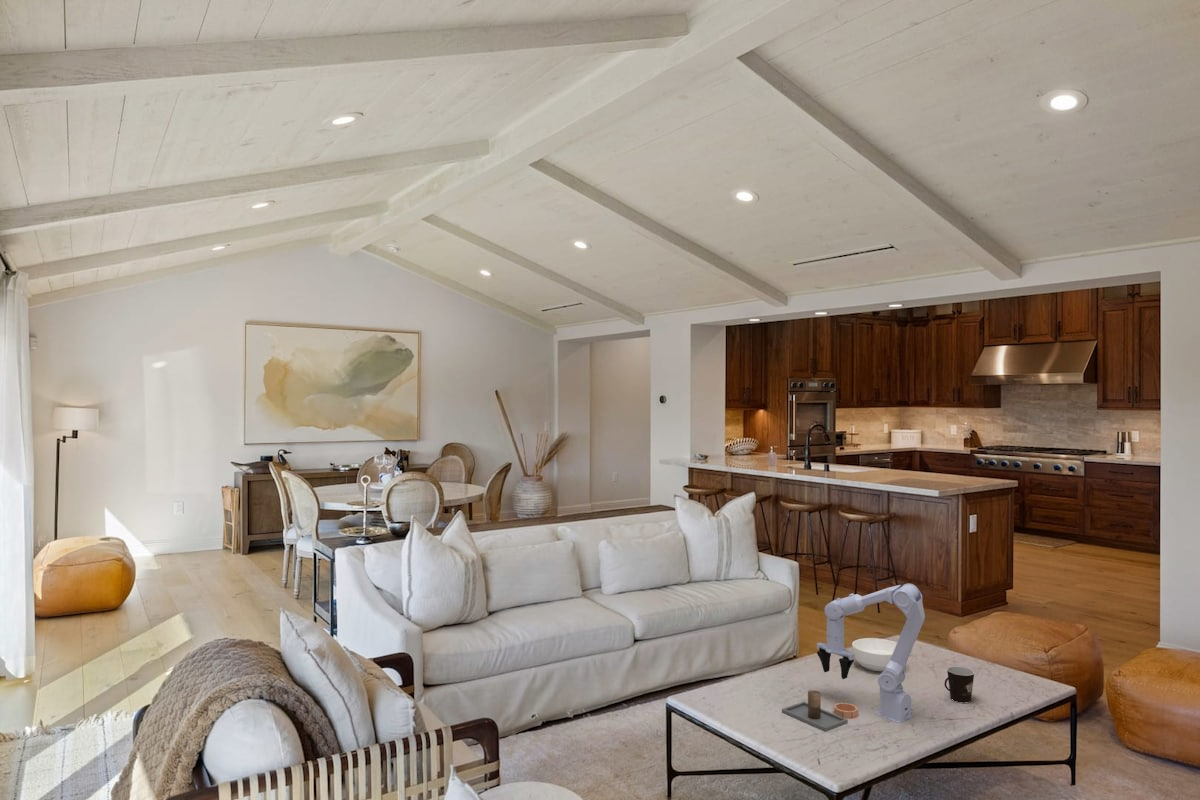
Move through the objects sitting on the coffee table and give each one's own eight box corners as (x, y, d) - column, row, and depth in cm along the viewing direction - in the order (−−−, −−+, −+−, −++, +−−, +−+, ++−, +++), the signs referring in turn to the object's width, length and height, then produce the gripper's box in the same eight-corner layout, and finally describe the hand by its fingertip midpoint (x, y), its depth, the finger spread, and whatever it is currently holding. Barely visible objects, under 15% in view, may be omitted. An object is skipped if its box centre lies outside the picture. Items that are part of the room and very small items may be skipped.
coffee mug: (966, 694, 276) (966, 666, 276) (979, 704, 267) (979, 675, 267) (934, 695, 275) (934, 666, 275) (945, 704, 267) (945, 675, 267)
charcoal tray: (847, 724, 252) (847, 719, 252) (825, 732, 245) (825, 728, 245) (803, 705, 266) (803, 701, 266) (781, 713, 260) (781, 709, 260)
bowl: (900, 680, 289) (900, 657, 289) (846, 670, 300) (846, 648, 299) (909, 664, 306) (909, 643, 306) (858, 655, 316) (858, 635, 316)
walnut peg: (823, 717, 255) (823, 693, 255) (814, 720, 253) (814, 696, 253) (813, 713, 259) (813, 689, 259) (805, 716, 257) (805, 692, 256)
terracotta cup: (864, 716, 258) (864, 708, 258) (848, 722, 253) (848, 714, 253) (843, 707, 265) (843, 700, 265) (827, 713, 260) (827, 706, 260)
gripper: (811, 632, 273) (811, 671, 273) (845, 643, 261) (845, 683, 261) (824, 628, 277) (824, 666, 277) (858, 639, 265) (858, 679, 265)
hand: (835, 674), depth 270 cm, fingers open, 7 cm apart
